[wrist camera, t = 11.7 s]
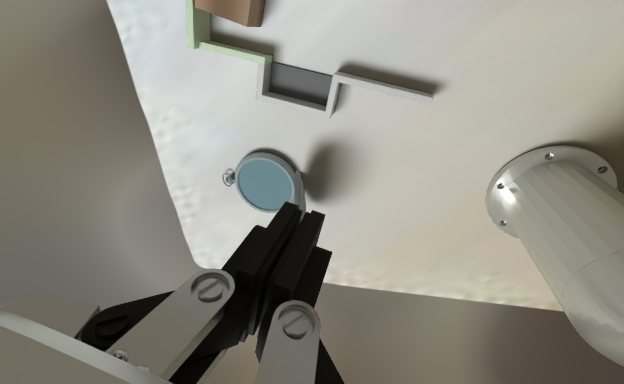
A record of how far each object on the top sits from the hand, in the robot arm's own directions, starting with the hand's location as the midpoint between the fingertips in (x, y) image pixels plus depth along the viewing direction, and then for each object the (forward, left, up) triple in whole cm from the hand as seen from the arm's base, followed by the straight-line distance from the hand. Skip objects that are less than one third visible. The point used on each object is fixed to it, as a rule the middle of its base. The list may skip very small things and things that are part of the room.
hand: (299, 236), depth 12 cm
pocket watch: (+10, +15, -27) cm, 32 cm away
